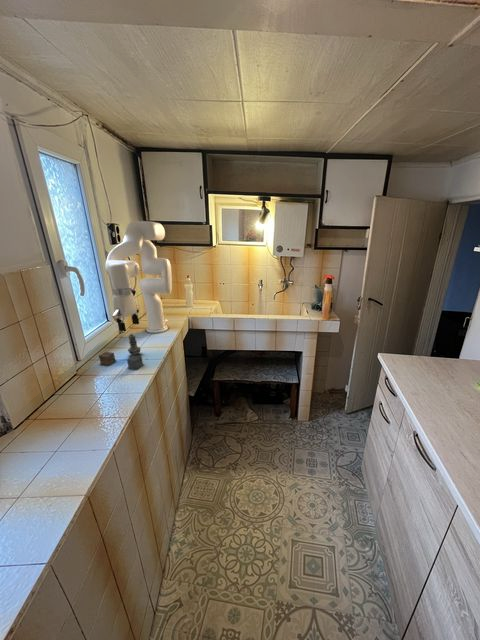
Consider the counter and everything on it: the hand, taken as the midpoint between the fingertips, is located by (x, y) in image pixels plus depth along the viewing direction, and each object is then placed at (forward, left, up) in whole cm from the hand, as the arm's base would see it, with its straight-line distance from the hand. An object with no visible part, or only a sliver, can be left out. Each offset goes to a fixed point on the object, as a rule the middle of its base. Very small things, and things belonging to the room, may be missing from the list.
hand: (129, 327), depth 134 cm
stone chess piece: (0, 0, -15) cm, 15 cm away
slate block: (+10, +7, -15) cm, 20 cm away
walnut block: (+10, -8, -15) cm, 20 cm away
